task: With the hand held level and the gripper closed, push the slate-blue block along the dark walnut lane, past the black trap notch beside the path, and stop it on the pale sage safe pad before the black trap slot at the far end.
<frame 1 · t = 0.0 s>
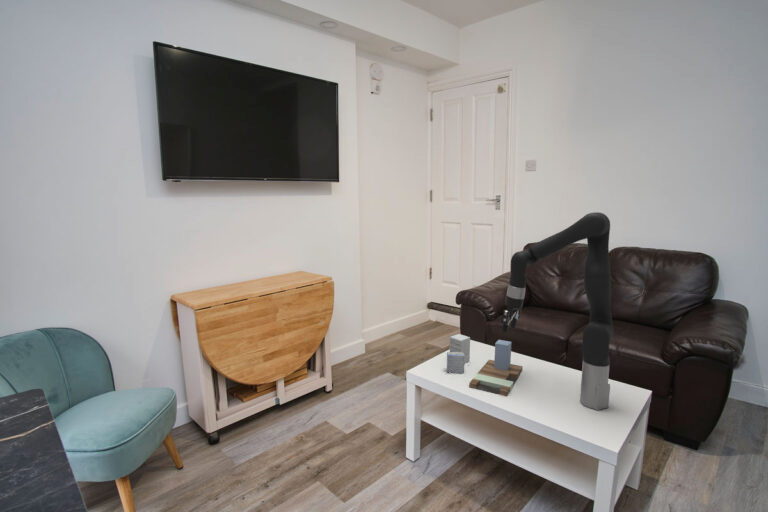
hand: (508, 329, 179), 22 cm above the table, tool pointing down, fingers open, 8 cm apart
safe pad: (492, 384, 175), on the table
deck: (497, 378, 181), on the table
block: (502, 367, 189), point 2 cm above the table, touching deck
medicine box: (455, 371, 189), on the table
supplement box: (459, 361, 201), on the table
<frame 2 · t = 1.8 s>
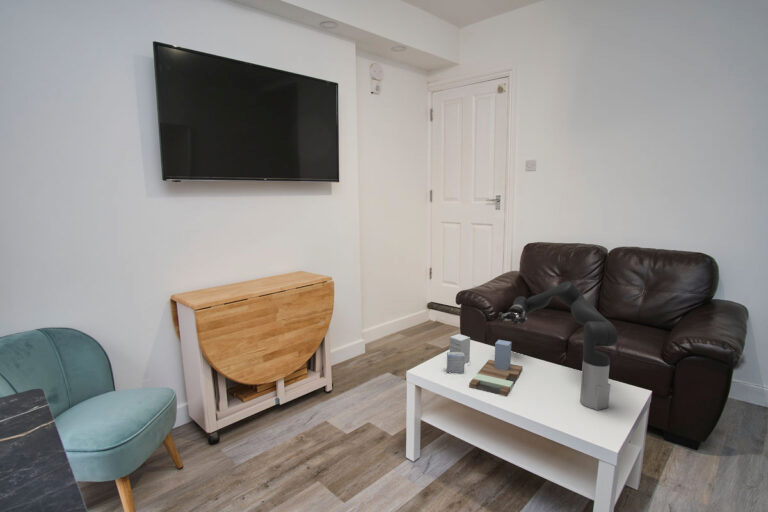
hand: (508, 321, 193), 22 cm above the table, tool horizontal, fingers open, 5 cm apart
nothing on the table moved.
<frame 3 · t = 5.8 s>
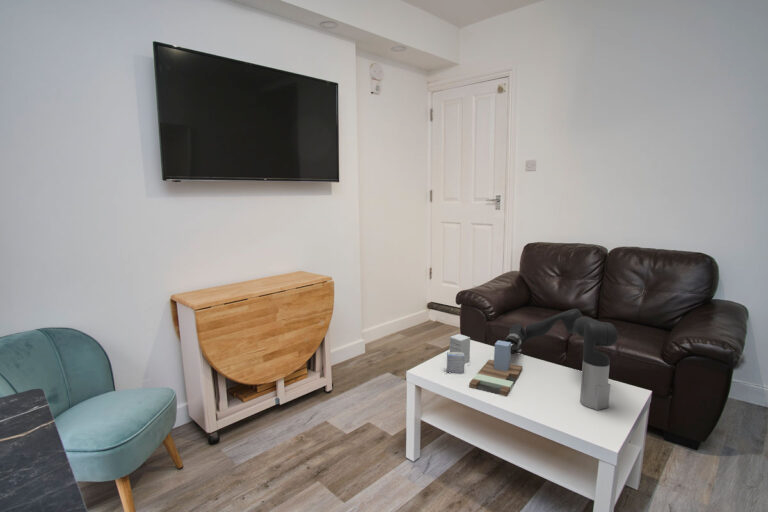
hand: (503, 353, 189), 8 cm above the table, tool horizontal, fingers closed
block: (501, 367, 188), point 2 cm above the table, touching deck, gripper
everything else where it was.
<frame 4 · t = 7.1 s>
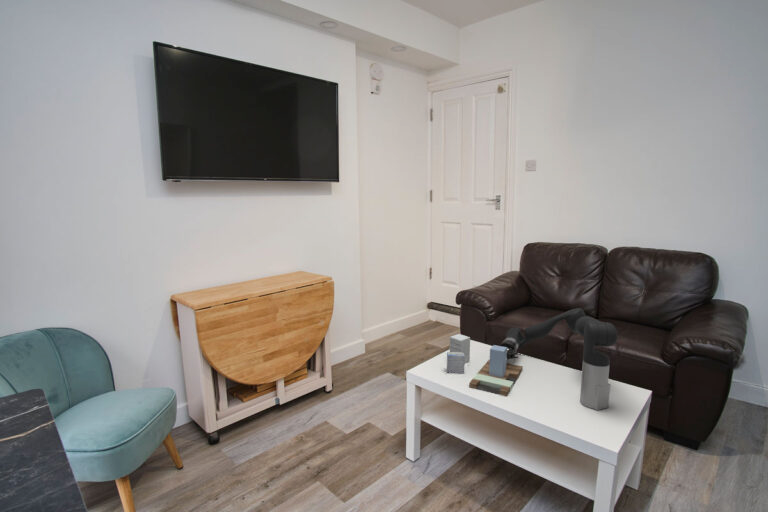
hand: (499, 358, 183), 8 cm above the table, tool horizontal, fingers closed
block: (497, 373, 181), point 2 cm above the table, touching deck
everything else where it was.
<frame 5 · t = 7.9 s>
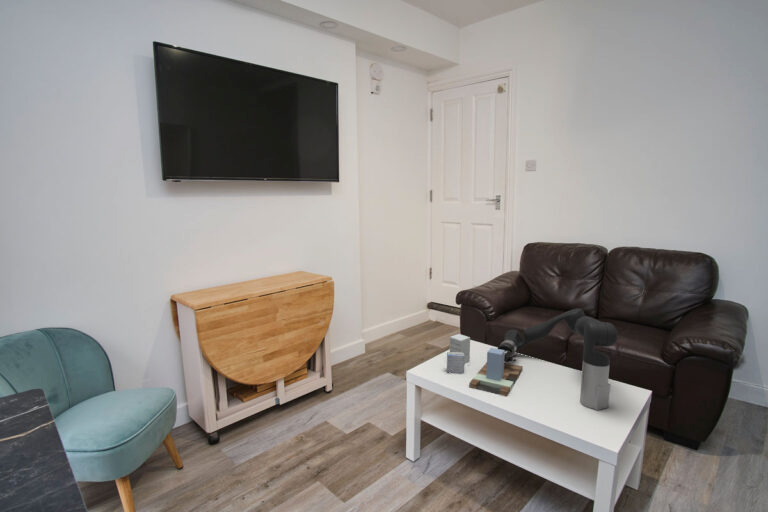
hand: (497, 361, 179), 8 cm above the table, tool horizontal, fingers closed
block: (494, 377, 178), point 2 cm above the table, touching gripper
everything else where it was.
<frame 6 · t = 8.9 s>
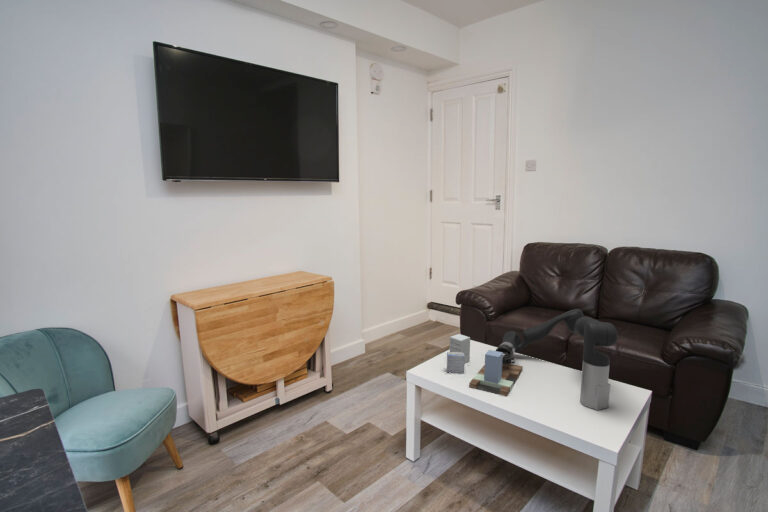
hand: (495, 364, 177), 8 cm above the table, tool horizontal, fingers closed
block: (492, 379, 175), point 2 cm above the table, touching deck, gripper, safe pad
everything else where it was.
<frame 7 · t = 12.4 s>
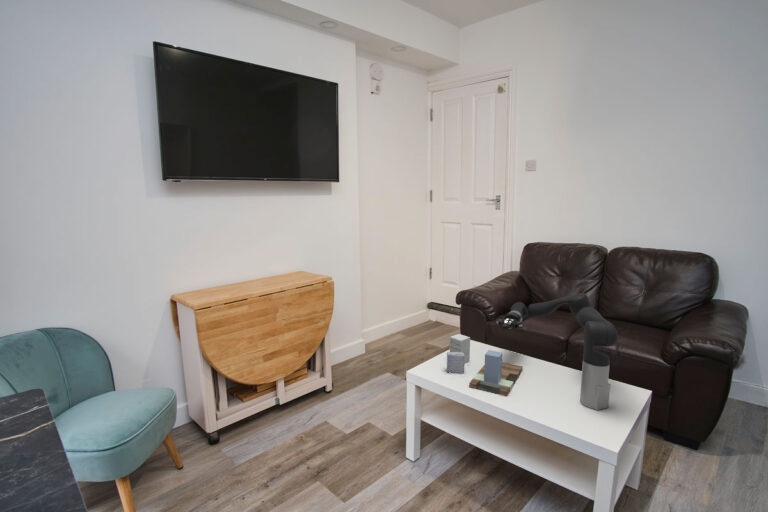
hand: (504, 327, 188), 21 cm above the table, tool horizontal, fingers closed
block: (492, 379, 175), point 2 cm above the table, touching deck, safe pad
everything else where it was.
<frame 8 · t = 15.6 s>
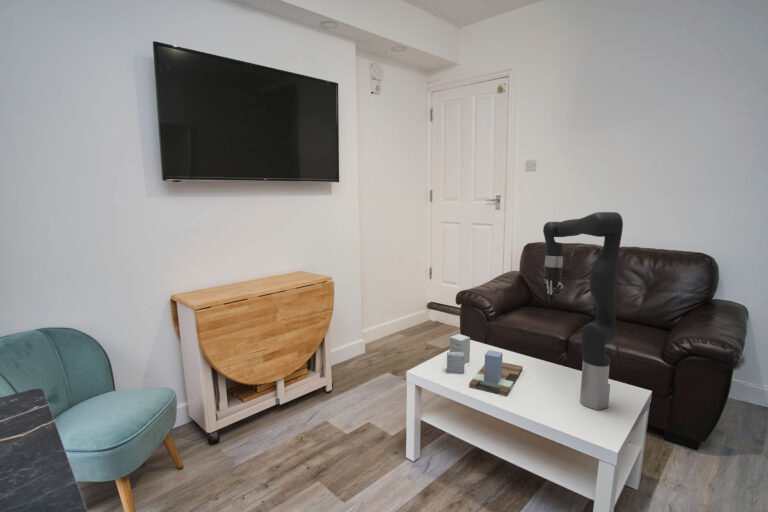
hand: (551, 302, 186), 33 cm above the table, tool pointing down, fingers closed
nothing on the table moved.
at the end: block 0.2 cm from the safe pad (horizontally); block tilted 0°; block point 2.0 cm above the table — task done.
